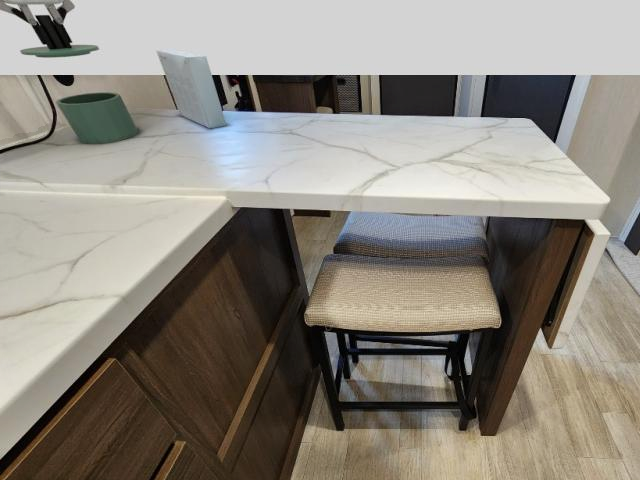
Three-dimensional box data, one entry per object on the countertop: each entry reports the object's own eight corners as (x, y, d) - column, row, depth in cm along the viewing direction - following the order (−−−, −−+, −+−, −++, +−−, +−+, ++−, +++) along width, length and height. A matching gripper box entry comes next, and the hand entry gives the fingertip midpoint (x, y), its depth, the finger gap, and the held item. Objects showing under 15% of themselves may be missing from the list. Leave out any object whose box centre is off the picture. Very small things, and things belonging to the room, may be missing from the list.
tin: (87, 147, 79) (62, 107, 73) (74, 136, 85) (50, 98, 79) (144, 135, 85) (126, 97, 80) (129, 125, 92) (110, 90, 86)
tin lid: (29, 61, 66) (2, 17, 61) (19, 54, 73) (-7, 15, 68) (108, 54, 73) (89, 15, 69) (92, 49, 80) (73, 13, 75)
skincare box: (229, 125, 92) (206, 55, 81) (210, 129, 89) (184, 57, 78) (197, 111, 103) (174, 48, 92) (179, 114, 100) (152, 49, 89)
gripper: (41, -72, 66) (98, 44, 78) (-76, -83, 57) (9, 50, 70) (48, -76, 62) (107, 46, 75) (-76, -88, 53) (15, 53, 66)
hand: (59, 47), depth 72 cm, fingers closed on tin lid, 2 cm apart
